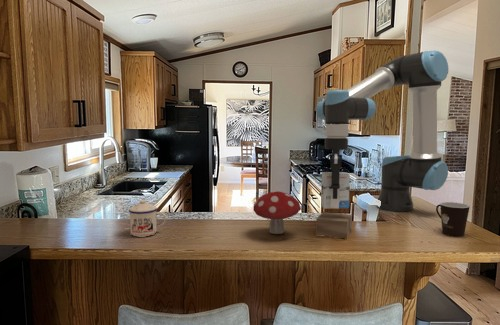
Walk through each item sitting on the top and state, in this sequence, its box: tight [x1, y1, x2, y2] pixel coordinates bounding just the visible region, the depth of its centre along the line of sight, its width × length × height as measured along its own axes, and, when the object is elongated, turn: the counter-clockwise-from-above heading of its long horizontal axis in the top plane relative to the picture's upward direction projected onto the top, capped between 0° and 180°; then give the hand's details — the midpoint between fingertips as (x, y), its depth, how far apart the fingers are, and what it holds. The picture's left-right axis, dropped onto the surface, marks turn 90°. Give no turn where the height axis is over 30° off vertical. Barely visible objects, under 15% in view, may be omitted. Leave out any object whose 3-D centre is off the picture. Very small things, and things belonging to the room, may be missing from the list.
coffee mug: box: [435, 201, 470, 238], centre depth 123 cm, size 12×9×10 cm
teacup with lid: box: [128, 199, 167, 235], centre depth 123 cm, size 12×9×12 cm
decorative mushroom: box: [253, 190, 302, 235], centre depth 121 cm, size 16×16×15 cm
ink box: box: [320, 171, 351, 209], centre depth 122 cm, size 8×5×12 cm, turn 90°
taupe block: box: [315, 211, 353, 240], centre depth 123 cm, size 10×10×6 cm
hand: (334, 205), depth 123 cm, fingers closed on ink box, 6 cm apart
